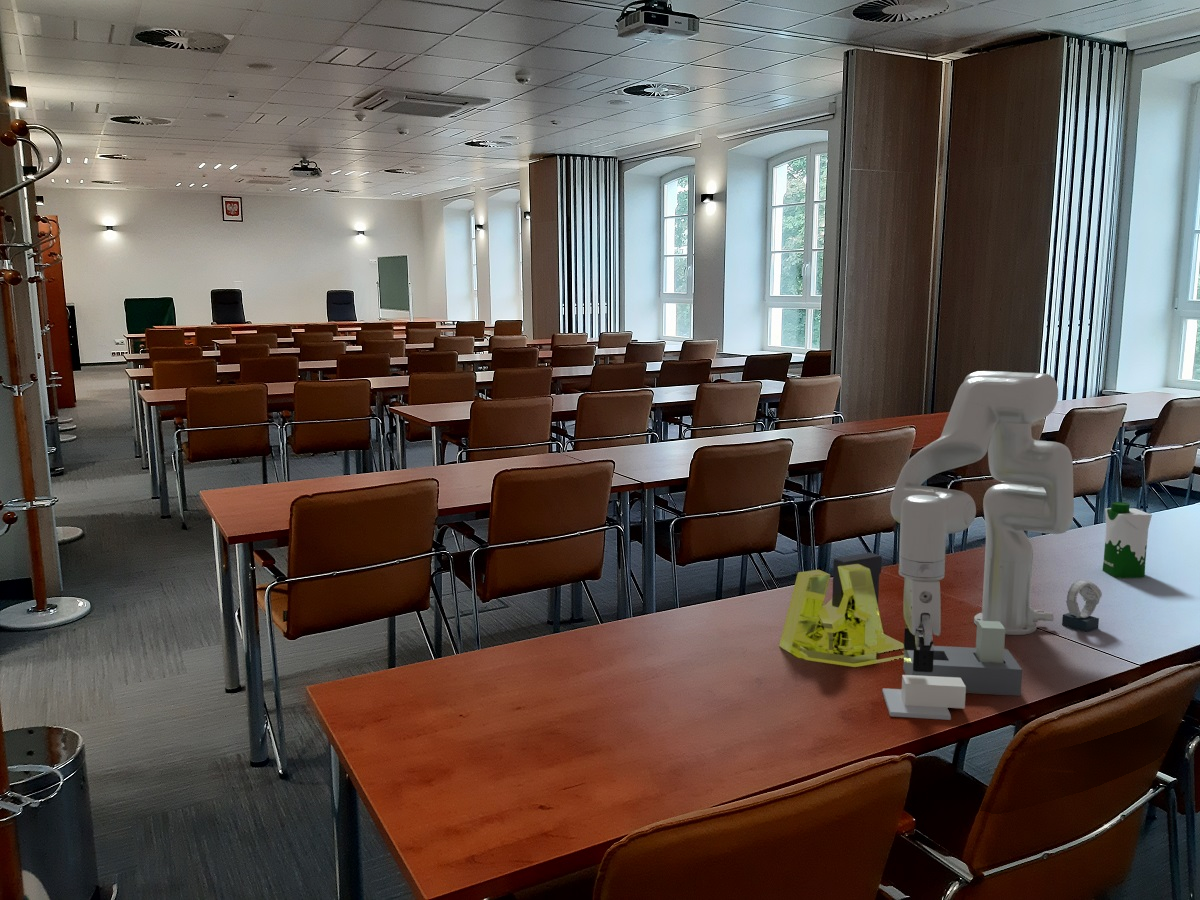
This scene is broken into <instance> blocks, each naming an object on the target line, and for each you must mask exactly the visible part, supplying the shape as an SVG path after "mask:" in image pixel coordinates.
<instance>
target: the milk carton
mask: <svg viewBox="0 0 1200 900" xmlns="http://www.w3.org/2000/svg"><path fill="white" fill-rule="evenodd" d="M1130 505H1131V504H1130V503H1128V502H1124V501H1113V502H1111V507H1108V508H1104V515H1105V523H1106V524H1105V526H1106V527H1105V536H1104V537H1105V539H1104V553H1103V563H1102V572H1104V573H1106V574H1107V575H1109V576H1111V577H1113V578H1115V579H1142V578H1145V577H1146V560H1147V559H1146V558H1147V550H1148V549H1147V548H1148V537H1149V535H1148V534H1149V527H1150V524H1151V519H1152V516H1153V515H1152V514H1151V513H1148V512H1145V511H1143V510H1141V509H1138V508H1133V507H1132V508H1130Z"/></svg>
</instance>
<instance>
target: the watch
mask: <svg viewBox="0 0 1200 900" xmlns="http://www.w3.org/2000/svg"><path fill="white" fill-rule="evenodd" d="M1066 595H1067V596H1066V600H1065V603H1066V607H1067V610H1068V612H1067V613H1063V614H1062V619H1061V620H1062V621H1061V626H1064V627H1066V628H1067V627H1068V628H1071V629H1074V630H1077V631H1080V632H1083V633H1089V632H1092V631H1094V630H1095V631H1096V630H1098V629H1099V625H1100V624H1099V623H1100V622H1099V621H1100V618H1099V617H1095V616H1092V614H1093V613H1094V611H1095V609H1096V607H1097V605H1098V604H1099V603H1100V600H1101V598H1102V597H1103V593H1102V590H1101V589H1100V587H1099V586H1098V585H1097V584H1095V583H1093V582H1092V581H1089V580H1081V579H1077V580H1076V581H1074V582H1073V583H1072V584H1071V585H1070V587H1069V589H1068V591H1067V594H1066ZM1078 595H1080V596H1081V597H1082V599H1083V602H1085V603H1084V605H1083V608H1082V609H1081V610H1080V608H1079V602H1077V598H1078Z"/></svg>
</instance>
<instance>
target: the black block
mask: <svg viewBox="0 0 1200 900" xmlns="http://www.w3.org/2000/svg"><path fill="white" fill-rule="evenodd" d="M882 558H883V557H882V555H879V554H876V553H873V552H865V553H859V554H853V555H852V554H851V555H846V556H841V557H835V558H833V562H832V563H833V567H832V569H833V570H832V571H833V573H832V574H833V575H832V597H831V599H832V598H833V597H834V596H835V595H836V594H837V593H838V592H839V593H843V589H842V584H841V580H840V575H839V571H838V566H844V565H852V564H860V565H862V566H864V567H867V568H869V569H870V572H871V576H872V581H873V586H874V590H875V595H876V600H877V604H878V605H879V595H880V594H879V591H880V588H879V587H880V574H881V573H882V566H883V565H882V564H883V563H882V562H883V561H882V560H883V559H882Z"/></svg>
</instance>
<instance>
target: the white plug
mask: <svg viewBox="0 0 1200 900" xmlns="http://www.w3.org/2000/svg"><path fill="white" fill-rule="evenodd" d="M901 689H902V693H901V696H902V699H903V701H904V704H905V705H909V706H927V707H945V708H949V709H950V708H951V709H963V710H964V709H965V708H966V694H967V693H966V686H965V684H964V683H963V681H962V679H961V678H957V677H937V676H917V675H906V674H902V675H901Z"/></svg>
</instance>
